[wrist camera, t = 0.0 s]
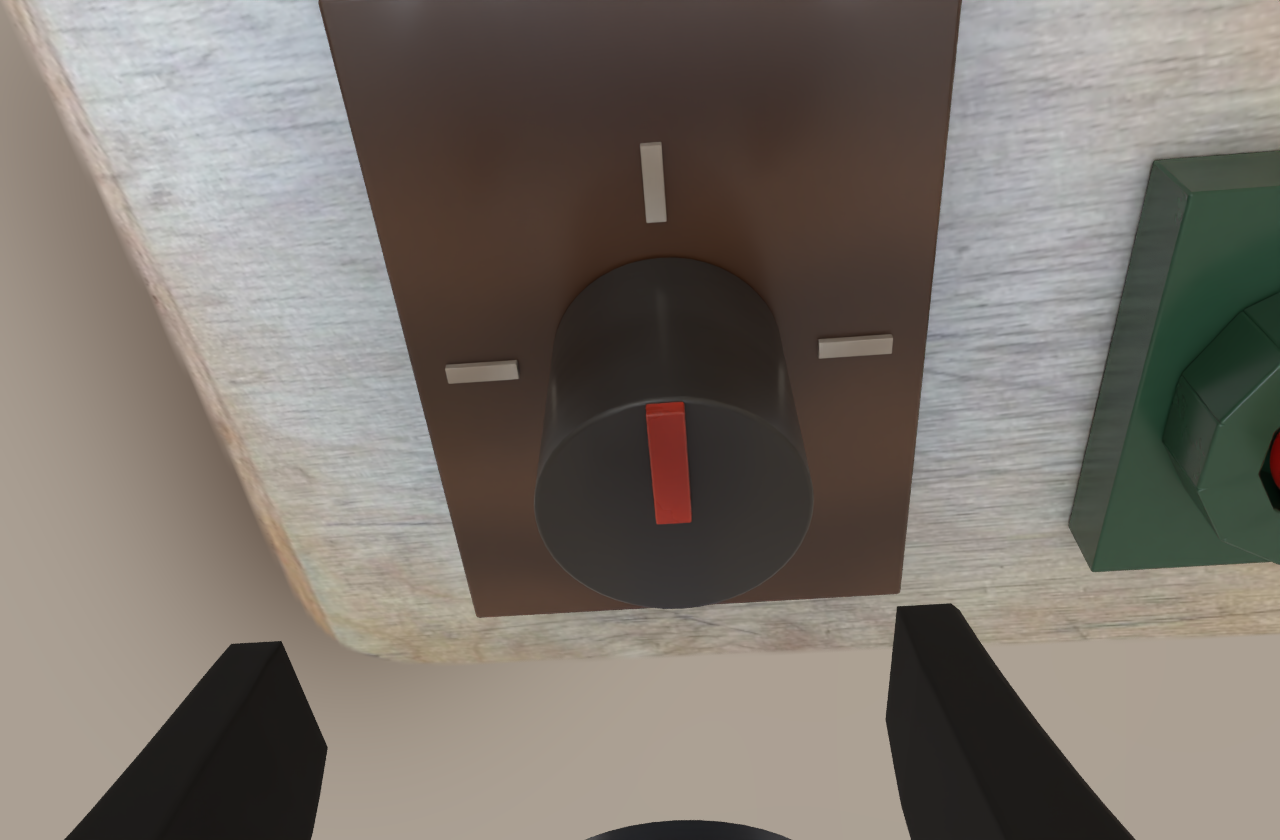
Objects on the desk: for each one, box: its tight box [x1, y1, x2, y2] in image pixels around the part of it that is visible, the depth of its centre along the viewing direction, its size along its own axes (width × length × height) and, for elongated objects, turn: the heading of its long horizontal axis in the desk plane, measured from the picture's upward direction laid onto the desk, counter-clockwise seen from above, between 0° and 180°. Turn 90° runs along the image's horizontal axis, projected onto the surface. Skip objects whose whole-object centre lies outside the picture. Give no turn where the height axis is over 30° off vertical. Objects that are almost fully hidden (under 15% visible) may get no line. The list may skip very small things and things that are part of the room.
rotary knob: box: [534, 258, 814, 609], centre depth 17 cm, size 4×4×5 cm
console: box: [318, 0, 962, 618], centre depth 20 cm, size 14×10×3 cm
